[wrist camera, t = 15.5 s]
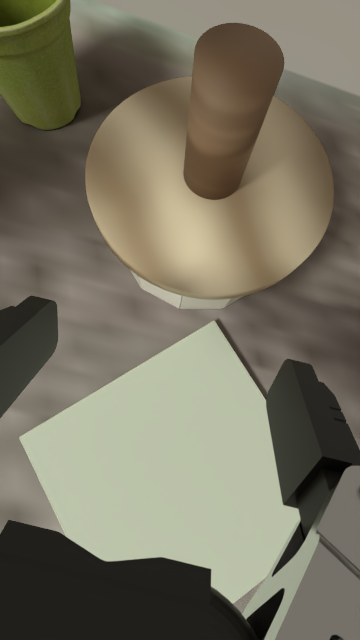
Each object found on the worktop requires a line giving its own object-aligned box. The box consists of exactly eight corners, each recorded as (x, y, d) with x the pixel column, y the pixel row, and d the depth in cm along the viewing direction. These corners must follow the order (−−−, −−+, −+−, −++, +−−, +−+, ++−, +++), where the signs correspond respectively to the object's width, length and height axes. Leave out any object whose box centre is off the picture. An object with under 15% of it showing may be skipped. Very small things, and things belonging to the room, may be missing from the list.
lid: (170, 347, 16) (176, 316, 9) (48, 148, 18) (-29, -9, 11) (369, 226, 18) (506, 121, 11) (239, 64, 21) (280, -109, 13)
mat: (136, 673, 17) (135, 682, 17) (22, 436, 20) (18, 437, 19) (336, 513, 20) (341, 516, 20) (213, 321, 23) (214, 320, 22)
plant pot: (116, 126, 26) (93, 4, 18) (15, 162, 25) (-61, 46, 16) (77, 53, 28) (39, -91, 19) (-20, 82, 26) (-106, -60, 18)
